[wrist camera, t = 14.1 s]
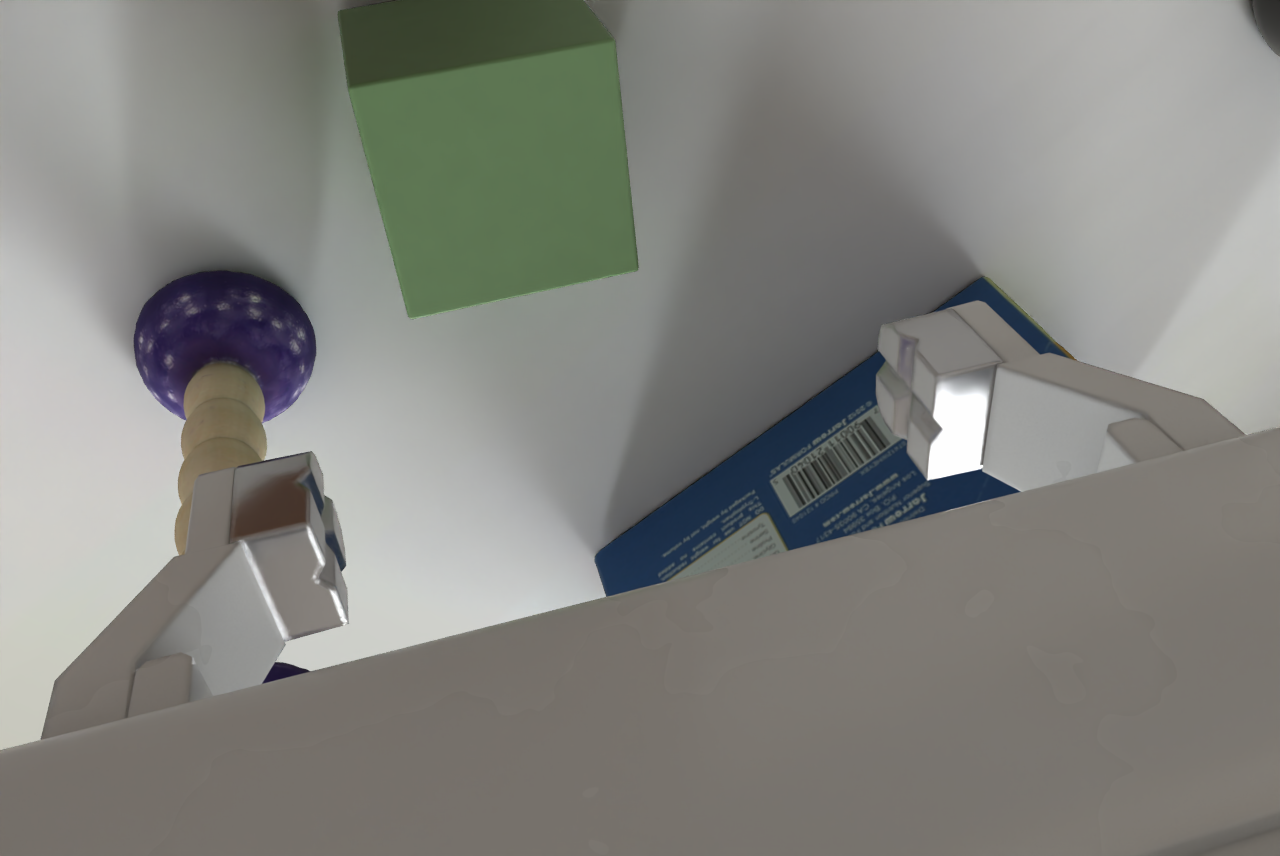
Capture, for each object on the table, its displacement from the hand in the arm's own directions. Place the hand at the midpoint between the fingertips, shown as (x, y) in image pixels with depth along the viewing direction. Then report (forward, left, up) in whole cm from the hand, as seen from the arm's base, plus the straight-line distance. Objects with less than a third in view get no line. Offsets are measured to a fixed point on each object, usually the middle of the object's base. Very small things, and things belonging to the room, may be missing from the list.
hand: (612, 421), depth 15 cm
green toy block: (0, 0, -13) cm, 13 cm away
